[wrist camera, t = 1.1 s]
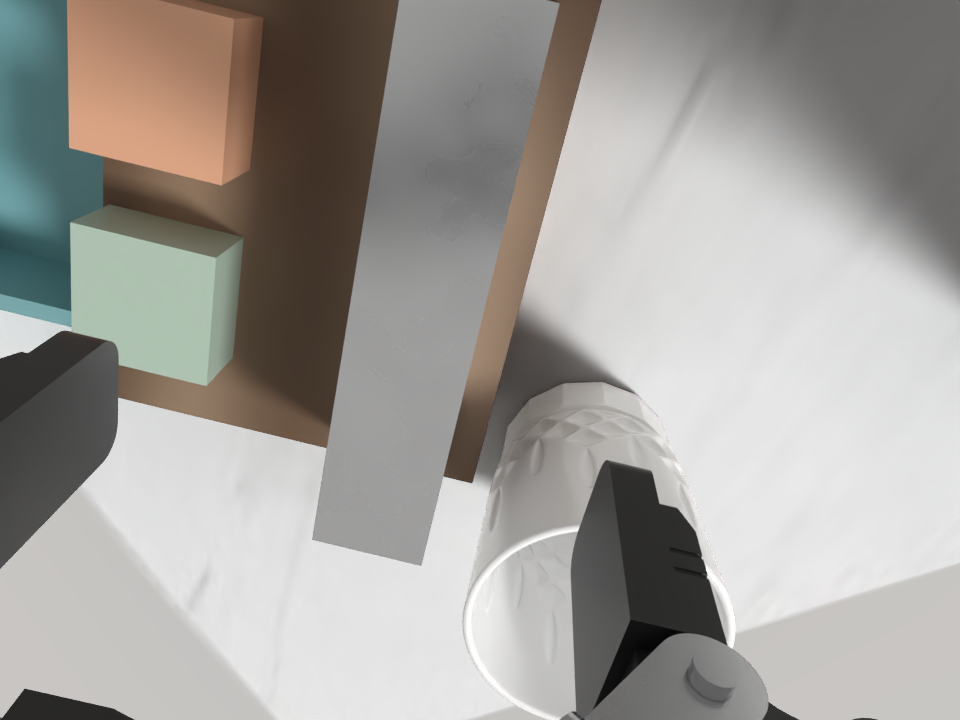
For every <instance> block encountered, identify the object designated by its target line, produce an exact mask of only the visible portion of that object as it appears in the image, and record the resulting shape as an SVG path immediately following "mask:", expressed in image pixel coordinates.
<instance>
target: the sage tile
mask: <svg viewBox="0 0 960 720" xmlns="http://www.w3.org/2000/svg"><path fill="white" fill-rule="evenodd" d="M243 241H244V237H241V236H237V235H233V234H229V233H225V232H221V231H216V230H212V229H208V228H204V227H200V226H196V225H192V224H188V223H184V222H180V221H176V220H172V219H168V218H164V217H160V216H155V215H151V214H147V213H143V212H139V211H135V210H131V209H127V208H123V207H119V206H115V205H111V204H109V205H107V206H105V207H103V208H100V209H98V210H96V211H94V212H92V213H89V214H87V215H85V216H83V217H81V218H78V219H76V220H74V221H72V222H70V244H71V316H72V332H74V333H78V334H82V335H87V336H91V337H95V338H99V339H104V340H108V341H111V342H113V343H115V345H116V346H117V349H118V354H119V365H121V366H126V367H130V368H134V369H138V370H142V371H146V372H150V373H154V374H158V375H163V376H167V377H171V378H175V379H179V380H183V381H187V382H191V383H195V384H200V385H204V386H207V385H208V384H209V383H210V382H211V381H212V380H213V379H214V377H215V376H216V375H217V374H218V373H219V372H220V371H221V370H222V369H223V368H224V367H225V365H226V364H227V363H228V362H229V361H230V360H231V359H232V358H233V351H234V340H235V329H236V318H237V307H238V296H239V285H240V274H241V263H242V252H243Z"/></svg>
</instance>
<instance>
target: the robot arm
mask: <svg viewBox="0 0 960 720" xmlns="http://www.w3.org/2000/svg"><path fill="white" fill-rule="evenodd" d="M118 370H119V354H118V349H117V346H116V345H115V343H113V342H111V341H108V340H104V339H99V338H95V337H91V336H87V335H82V334H78V333H74V332H70V331H61V332H59V333H57V334H56V335H54V336H53V337H51V338H50V339H48V340H47V341H46V342H44V343H43V344H41V345H40V346H38V347H37V348H35V349H34V350H32V351H31V352H29V353H24V352H20V353H16V354H13V355H10V356H7V357H4V358H1V359H0V568H1V567H2V566H3V565H4V564H5V563H6V562H7V561H8V560H9V559H10V558H11V557H12V556H13V555H14V554H15V553H16V552H17V551H18V550H19V549H20V548H21V547H22V546H23V545H24V544H25V542H26V541H27V540H28V539H29V538H30V537H31V536H32V535H33V534H34V533H35V532H36V531H37V530H38V529H39V528H40V527H41V526H42V525H43V524H44V523H45V522H46V521H47V520H48V519H49V518H50V517H51V516H52V515H53V514H54V512H55V511H56V510H57V509H58V508H59V507H60V506H61V505H62V504H63V503H64V502H65V501H66V500H67V499H68V498H69V497H70V496H71V495H72V494H73V493H74V492H75V491H76V490H77V489H78V488H79V487H80V486H81V485H82V484H83V483H84V481H85V480H86V479H87V478H88V477H89V476H90V475H91V474H92V473H93V472H94V471H95V470H96V469H97V468H98V467H99V466H100V465H101V464H102V463H103V462H104V460H105V459H106V457H107V456H108V454H109V452H110V450H111V448H112V446H113V443H114V440H115V437H116V432H117V424H118ZM707 575H708V574H707V570H706V566H705V563H704V560H703V559H702V552H701V549H700V545H699V541H698V538H697V534H696V531H695V530H694V529H693V527H692V526H691V525H690V523H689V522H688V521H687V520H686V518H685V517H684V516H683V514H682V513H681V512H680V511H679V509H678V508H676V507H672V506H667V505H663V504H659V499H658V495H657V490H656V486H655V481H654V477H653V473H652V471H651V470H648V469H643V468H639V467H635V466H631V465H626V464H622V463H618V462H614V461H610V460H606V461H605V462H604V463H603V464H602V466H601V469H600V471H599V474H598V476H597V479H596V482H595V485H594V488H593V491H592V493H591V496H590V499H589V502H588V505H587V508H586V510H585V513H584V516H583V519H582V522H581V525H580V527H579V530H578V533H577V536H576V540H575V544H574V548H573V554H572V560H571V596H572V621H573V646H574V671H575V696H576V712H575V711H572V712H569V713H568V714H566V715H565V716H563V717H562V718H561V719H560V720H798V719H796V718H794V717H792V716H790V715H789V714H787V713H785V712H783V711H781V710H779V709H777V708H776V707H775V706H773V705H772V704H770V703H769V702H768V694H767V691H766V688H765V685H764V683H763V681H762V679H761V678H760V676H759V674H758V673H757V672H756V670H755V669H754V668H753V667H752V666H751V664H750V663H749V662H748V661H747V660H746V659H745V658H744V657H742V656H741V655H740V654H739V653H737V652H736V651H735V650H733V649H732V648H730V647H728V645H727V642H726V638H725V635H724V631H723V627H722V624H721V620H720V617H719V613H718V609H717V606H716V602H715V599H714V595H713V592H712V588H711V584H710V581H709V579H707ZM0 720H134V719H132V718H130V717H128V716H126V715H124V714H122V713H120V712H118V711H117V710H115V709H112V708H108V707H103V706H99V705H95V704H90V703H85V702H81V701H77V700H72V699H68V698H63V697H59V696H55V695H50V694H46V693H41V692H37V691H33V690H28V689H24V691H23V692H22V693H21V694H20V696H19V697H18V698H17V700H16V701H15V702H14V704H13V705H12V706H11V707H10V709H9V710H8V711H7V713H6V714H5V715H4V717H3V718H0ZM853 720H876V719H871V718H859V719H853Z"/></svg>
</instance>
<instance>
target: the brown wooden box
mask: <svg viewBox="0 0 960 720" xmlns="http://www.w3.org/2000/svg"><path fill="white" fill-rule="evenodd" d="M196 1H200V2H204V3H208V4H212V5H216V6H220V7H224V8H228V9H232V10H236V11H240V12H244V13H248V14H252V15H256V16H260V17H264V20H263V31H262V42H261V53H260V64H259V75H258V86H257V97H256V108H255V119H254V130H253V141H252V152H251V163H250V170H249V171H247V172H245V173H243V174H242V175H240V176H238V177H236V178H234V179H232V180H231V181H229V182H227V183H225V184H223V185H218V184H214V183H210V182H205V181H201V180H197V179H193V178H189V177H185V176H181V175H177V174H173V173H169V172H165V171H161V170H157V169H153V168H149V167H145V166H141V165H137V164H133V163H128V162H124V161H120V160H116V159H112V158H108V157H104V156H103V207H105V206H107V205H109V204H111V205H115V206H119V207H123V208H127V209H131V210H135V211H139V212H143V213H147V214H151V215H155V216H160V217H164V218H168V219H172V220H176V221H180V222H184V223H188V224H192V225H196V226H200V227H204V228H208V229H212V230H216V231H221V232H225V233H229V234H233V235H237V236H241V237H244V241H243V252H242V263H241V274H240V285H239V296H238V307H237V318H236V329H235V340H234V351H233V358H232V359H231V360H230V361H229V362H228V363H227V364H226V365H225V367H224V368H223V369H222V370H221V371H220V372H219V373H218V374H217V375H216V376H215V377H214V379H213V380H212V381H211V382H210V383H209V384H208V385H207V386H204V385H200V384H195V383H191V382H187V381H183V380H179V379H175V378H171V377H167V376H163V375H158V374H154V373H150V372H146V371H142V370H138V369H134V368H130V367H126V366H121V365H119V370H118V398H123V399H127V400H131V401H135V402H139V403H143V404H147V405H151V406H155V407H160V408H164V409H168V410H172V411H176V412H180V413H184V414H188V415H193V416H197V417H201V418H205V419H209V420H213V421H217V422H221V423H226V424H230V425H234V426H238V427H242V428H246V429H250V430H254V431H259V432H263V433H267V434H271V435H275V436H279V437H283V438H287V439H292V440H296V441H300V442H304V443H308V444H312V445H316V446H320V447H325V448H327V444H328V438H329V432H330V426H331V420H332V413H333V407H334V401H335V395H336V389H337V382H338V376H339V370H340V364H341V358H342V351H343V345H344V339H345V333H346V327H347V320H348V314H349V308H350V302H351V296H352V289H353V283H354V277H355V271H356V265H357V258H358V252H359V246H360V240H361V234H362V227H363V221H364V215H365V209H366V203H367V196H368V190H369V184H370V178H371V172H372V165H373V159H374V153H375V147H376V141H377V134H378V128H379V122H380V116H381V110H382V103H383V97H384V91H385V85H386V79H387V72H388V66H389V60H390V54H391V48H392V41H393V35H394V29H395V23H396V17H397V10H398V4H399V0H196ZM549 1H553V2H557V3H560V4H559V8H558V13H557V17H556V21H555V25H554V29H553V33H552V37H551V41H550V45H549V49H548V53H547V57H546V61H545V65H544V69H543V73H542V77H541V82H540V86H539V90H538V94H537V98H536V102H535V106H534V110H533V114H532V118H531V122H530V126H529V130H528V134H527V138H526V142H525V146H524V151H523V155H522V159H521V163H520V167H519V171H518V175H517V179H516V183H515V187H514V191H513V195H512V199H511V203H510V207H509V211H508V215H507V220H506V224H505V228H504V232H503V236H502V240H501V244H500V248H499V252H498V256H497V260H496V264H495V268H494V272H493V276H492V280H491V284H490V289H489V293H488V297H487V301H486V305H485V309H484V313H483V317H482V321H481V325H480V329H479V333H478V337H477V341H476V345H475V349H474V353H473V358H472V362H471V366H470V370H469V374H468V378H467V382H466V386H465V390H464V394H463V398H462V402H461V406H460V410H459V414H458V418H457V422H456V427H455V431H454V435H453V439H452V443H451V447H450V451H449V455H448V459H447V463H446V467H445V471H444V475H443V476H444V477H448V478H452V479H457V480H461V481H465V482H469V483H472V482H473V478H474V475H475V471H476V467H477V463H478V460H479V456H480V452H481V449H482V445H483V441H484V437H485V434H486V430H487V426H488V422H489V419H490V415H491V411H492V407H493V404H494V400H495V396H496V393H497V389H498V385H499V381H500V378H501V374H502V370H503V366H504V363H505V359H506V355H507V352H508V348H509V344H510V340H511V337H512V333H513V329H514V325H515V322H516V318H517V314H518V310H519V307H520V303H521V299H522V296H523V292H524V288H525V284H526V281H527V277H528V273H529V269H530V266H531V262H532V258H533V255H534V251H535V247H536V243H537V240H538V236H539V232H540V228H541V225H542V221H543V217H544V214H545V210H546V206H547V202H548V199H549V195H550V191H551V187H552V184H553V180H554V176H555V172H556V169H557V165H558V161H559V158H560V154H561V150H562V146H563V143H564V139H565V135H566V131H567V128H568V124H569V120H570V117H571V113H572V109H573V105H574V102H575V98H576V94H577V90H578V87H579V83H580V79H581V75H582V72H583V68H584V64H585V61H586V57H587V53H588V49H589V46H590V42H591V38H592V34H593V31H594V27H595V23H596V20H597V16H598V12H599V8H600V5H601V1H602V0H549Z"/></svg>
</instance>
